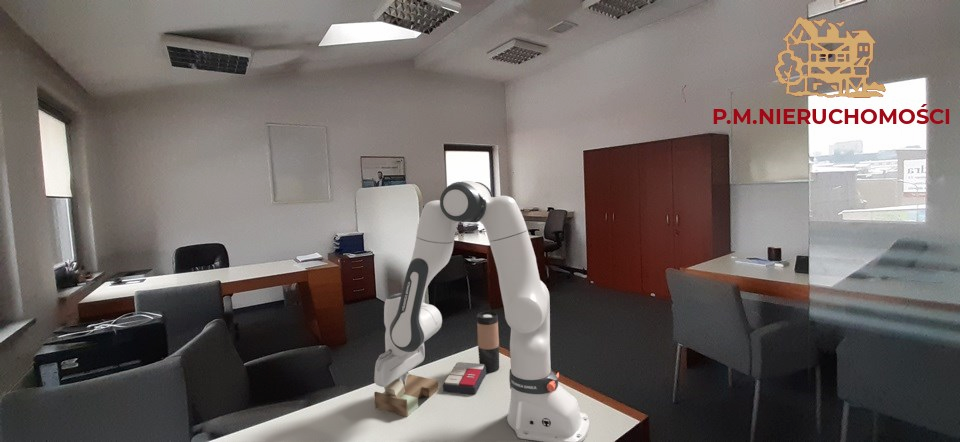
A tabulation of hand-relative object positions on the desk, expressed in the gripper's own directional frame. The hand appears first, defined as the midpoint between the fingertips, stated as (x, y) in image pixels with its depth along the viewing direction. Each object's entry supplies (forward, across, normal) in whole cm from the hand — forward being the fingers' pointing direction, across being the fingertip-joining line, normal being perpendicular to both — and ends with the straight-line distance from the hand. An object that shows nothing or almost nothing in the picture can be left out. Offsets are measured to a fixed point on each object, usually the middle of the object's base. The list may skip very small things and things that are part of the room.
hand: (401, 386), depth 122 cm
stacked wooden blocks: (+5, +2, -1) cm, 5 cm away
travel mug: (+4, +31, -15) cm, 35 cm away
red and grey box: (+5, +18, -12) cm, 23 cm away
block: (+1, -3, 0) cm, 3 cm away
